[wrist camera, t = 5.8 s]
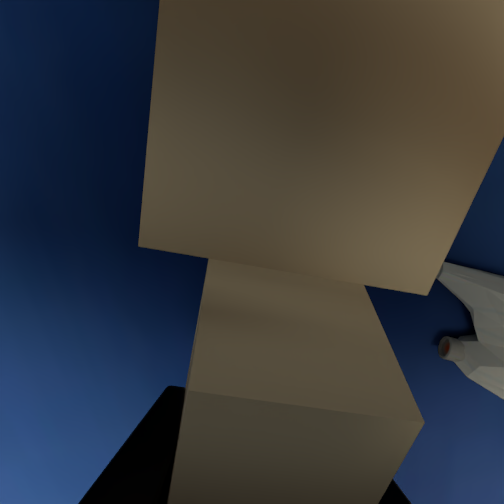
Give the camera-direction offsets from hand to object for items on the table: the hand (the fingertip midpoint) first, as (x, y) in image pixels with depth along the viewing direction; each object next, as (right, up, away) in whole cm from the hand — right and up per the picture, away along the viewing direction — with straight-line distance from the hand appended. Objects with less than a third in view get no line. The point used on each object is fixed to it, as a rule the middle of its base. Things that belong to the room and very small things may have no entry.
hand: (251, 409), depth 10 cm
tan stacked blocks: (+1, +3, -1) cm, 4 cm away
